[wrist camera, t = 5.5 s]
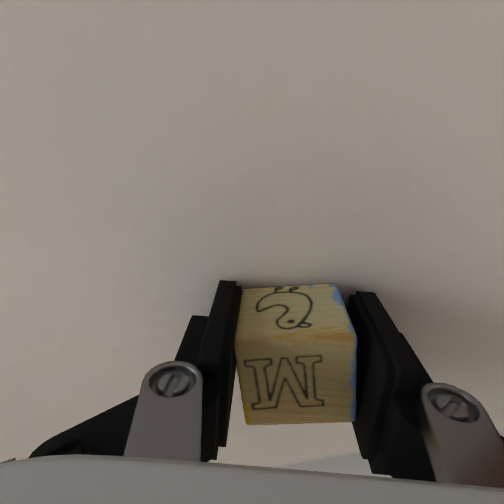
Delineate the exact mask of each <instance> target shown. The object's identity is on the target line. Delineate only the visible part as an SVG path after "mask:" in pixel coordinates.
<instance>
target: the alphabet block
mask: <svg viewBox="0 0 504 504" xmlns="http://www.w3.org/2000/svg"><path fill="white" fill-rule="evenodd" d="M356 349H357V336H356V333H355V330H354V328H353V326H352V324H351V321H350V318H349V316H348V313H347V311H346V308H345V305H344V302H343V300H342V297H341V294H340V292H339V289H338V287H337V285H336V284H315V285H300V286H283V287H270V288H255V289H244V290H242V293H241V299H240V304H239V312H238V318H237V324H236V331H235V338H234V353H235V358H236V363H237V372H238V376H239V383H240V389H241V396H242V402H243V409H244V415H245V422H246V424H247V425H277V424H302V423H331V422H353V421H355V420H356V384H357V381H356V372H357V359H356Z"/></svg>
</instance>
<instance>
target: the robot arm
mask: <svg viewBox="0 0 504 504" xmlns="http://www.w3.org/2000/svg"><path fill="white" fill-rule="evenodd" d="M241 291H242V286H236V281H225V280H220V281H219V285H218V288H217V291H216V295H215V298H214V301H213V305H212V308H211V311H210V315H209V317H207V316H195V315H193V316H192V317H191V319H190V322H189V324H188V327H187V329H186V332H185V335H184V337H183V340H182V342H181V345H180V347H179V350H178V353H177V355H176V358H175V360H174V361H169V362H165V363H162V364H159V365H157V366H155V367H154V368H152V369H151V370H150V371H149V372H148V373H147V374H146V375H145V377H144V379H143V381H142V385H141V389H140V393H139V395H137V396H135V397H133V398H131V399H129V400H127V401H125V402H123V403H121V404H119V405H117V406H115V407H113V408H111V409H109V410H107V411H105V412H103V413H101V414H99V415H97V416H95V417H92V418H90V419H88V420H86V421H84V422H82V423H80V424H78V425H76V426H74V427H72V428H70V429H68V430H66V431H64V432H62V433H60V434H58V435H56V436H54V437H52V438H50V439H49V440H47V441H45V442H44V443H42V444H41V445H40V446H39V447H38V448H37V449H36V450H34V451H33V452H32V454H31V455H30V456H29V458H27V459H20V460H16V459H15V458H13V459H10V460H7V461H4V462H1V463H0V504H504V437H503V436H501V435H499V433H498V431H497V429H496V428H495V426H494V424H493V422H492V420H491V419H490V417H489V415H488V413H487V412H486V410H485V408H484V407H483V406H482V405H481V403H480V402H479V401H478V400H477V399H475V398H474V397H473V396H472V395H470V394H469V393H467V392H466V391H464V390H462V389H460V388H457V387H455V386H453V385H449V384H445V383H437V382H434V383H433V381H432V379H431V378H430V376H429V375H428V373H427V372H426V370H425V368H424V367H423V365H422V364H421V362H420V360H419V359H418V357H417V356H416V354H415V353H414V351H413V349H412V348H411V346H410V345H409V343H408V342H407V340H406V338H405V337H404V335H403V334H402V333H400V332H399V331H398V329H397V328H396V326H395V324H394V323H393V321H392V320H391V318H390V316H389V315H388V313H387V312H386V310H385V308H384V307H383V305H382V304H381V302H380V300H379V299H378V297H377V296H376V294H375V293H374V292H363V291H357V292H356V293H355V295H350V297H349V301H348V306H347V313H348V316H349V318H350V321H351V324H352V326H353V328H354V330H355V333H356V336H357V349H356V359H357V372H356V381H357V384H356V420H355V421H353V422H352V424H353V428H354V431H355V435H356V439H357V442H358V446H359V449H360V453H361V456H362V458H363V459H368V461H369V464H370V468H371V471H372V474H383V475H390V476H392V477H393V478H386V477H374V476H364V475H352V474H341V473H329V472H318V471H306V470H295V469H283V468H271V467H259V466H246V465H234V464H222V463H210V462H208V461H209V460H217V453H218V446H219V447H226V442H227V434H228V426H229V419H230V411H231V403H232V395H233V387H234V379H235V372H236V364H237V363H236V358H235V353H234V338H235V331H236V324H237V318H238V312H239V304H240V299H241Z"/></svg>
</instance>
